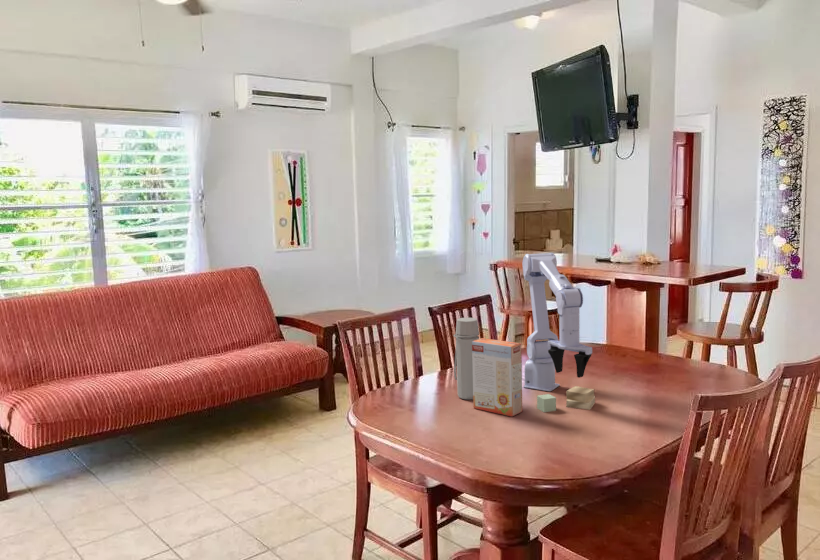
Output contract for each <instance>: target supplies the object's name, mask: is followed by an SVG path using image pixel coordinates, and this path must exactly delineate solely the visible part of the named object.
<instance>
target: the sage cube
mask: <svg viewBox="0 0 820 560" xmlns="http://www.w3.org/2000/svg"><path fill="white" fill-rule="evenodd" d="M536 408H537V410H540V411H541V412H543V413H547V412H548V413H549V412H550V413H551V412H555V411H557V397H556V396H554V395H551V394H550V393H547V394H538V395H536Z"/></svg>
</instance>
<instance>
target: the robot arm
mask: <svg viewBox="0 0 820 560" xmlns="http://www.w3.org/2000/svg"><path fill="white" fill-rule="evenodd" d="M522 258H523V259H522V266H521V267H522V273H523V278H524V279H523V280H524V281H526V282H528V285H529V292H530V293H529V295H530V303H531V310H532V321H533V328H534V329H533V332H532V333H531V334H530V335H529V336H528V337H527V339H526V344H527V345H526V354H527V357H528V359H527V360H526V362H525V365H524V385H523V388H526V389H531V390H539V391H545V392H551V391H553V390H555V389H556V388H558V387H559V386H560V383H556V373H558V374H559V373H561V372H563V367H564V366H563V365H564V364H563V361H564V356H565V351H569V352H575V354H573V357H574V359H575V365H576V377H577V378H578V379H579V378H582V377H584V374H585V371H586V367H587V364H588V363H589V360H591V357H592V354H593V347H592V346H589V345H588V346H587V345H585V344H582V343H580V308H582V306H583V304H584V295H583V292H582V290H581V288H579V287H574V286H573V285H572V283H571V282H570V281H569V279H568V278H567V276H565V275H564V274H561V273H560V272H559V270H558V268H557V266H558V263H557V262H558V260H557V257H556V255H555V253H554V252H546V253H545V252H544V253H543V252H542V253H530V254H529V253H525V255H524V256H523V257H522ZM547 280H548V281H549V282H548V286H549V288H550V290H551V291H552V293H553V294H554V295H555V302H556V307H557V314H558V315H559V316H558V317H559V324H558V325H559V329H558V330H559V336H558V335H557V334H556V333H554V332H553V331H551V329H550V320H549V313H548V305H547V297H546V287H545V282H546V281H547ZM558 337H559V338H558Z"/></svg>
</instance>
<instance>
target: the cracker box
mask: <svg viewBox="0 0 820 560" xmlns="http://www.w3.org/2000/svg"><path fill="white" fill-rule="evenodd" d="M522 359H523V358H522V343H521V342H513V341H508V340H507V341H506V340H500V339H499V340H498V339H492V338H491V339H490V338H487V337H486V338H483V337H482V338H481V337H480V338H479V339H478V340H475V341H472V364H473V399H472V401H473V402H472V403H473V409H474V410H475V409H476V410H480V411H484V412H485V411H486V412H489V413H494V414H498V415H502V416H507V417H515V416H516V415H518V414H521V413H523V369H522V368H523V366H522V365H523V363H522Z"/></svg>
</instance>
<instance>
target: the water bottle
mask: <svg viewBox="0 0 820 560" xmlns="http://www.w3.org/2000/svg"><path fill="white" fill-rule="evenodd" d="M479 335H480V330H479V322H478V318H476V317H461V318H457V319H456V326H455V334H453V337H454V338H455V350H454V351H455V353H454V366H453V367H454V369H453V374H454V379H455V380H456V385H457V386H456V387H457V396H458V398H459V399H462V400H467V401H468V400H470V401H471V400H472V401H473V364H472V341H475V340H478V339H480V337H479Z"/></svg>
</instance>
